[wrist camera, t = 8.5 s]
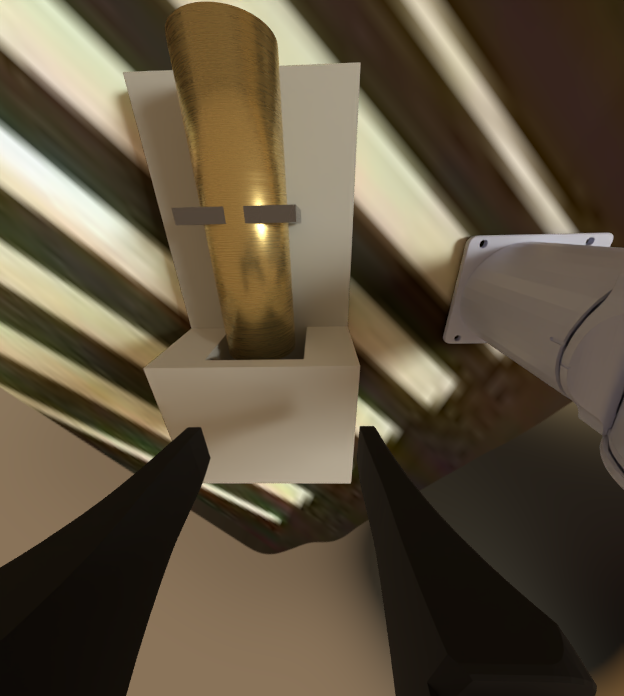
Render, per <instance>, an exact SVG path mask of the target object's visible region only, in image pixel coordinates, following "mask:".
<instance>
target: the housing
mask: <svg viewBox="0 0 624 696" xmlns="http://www.w3.org/2000/svg"><path fill="white" fill-rule="evenodd" d="M279 74H280V91H281V108H282V125H283V142H284V158H285V175H286V192H287V205H293V204H296V205H297V207H298V208H299V209H300V210H301V223H288V226H289V243H290V260H291V277H292V294H293V310H294V327H295V344H296V345H295V349H294V350H293V351H292V352H291V353H290V354H289V355H287V356H285V357H283V358H281V359H278V360H236V359H234V358H233V357H231V355H230V353H229V348H228V343H227V338H226V333H225V328H224V323H223V318H222V313H221V308H220V303H219V298H218V293H217V288H216V283H215V278H214V273H213V268H212V263H211V258H210V253H209V248H208V243H207V239H206V234H205V229H204V225H175V221H174V217H173V213H172V209H171V208H183V207H200V204H199V199H198V194H197V189H196V184H195V179H194V174H193V169H192V164H191V159H190V154H189V149H188V144H187V139H186V134H185V129H184V124H183V119H182V114H181V109H180V104H179V99H178V94H177V89H176V84H175V79H174V74H173V70H167V71H143V72H123V75H124V79H125V82H126V86H127V90H128V94H129V97H130V101H131V105H132V109H133V112H134V116H135V120H136V124H137V127H138V131H139V135H140V138H141V142H142V146H143V150H144V153H145V157H146V161H147V165H148V168H149V172H150V176H151V179H152V183H153V187H154V191H155V194H156V198H157V202H158V206H159V209H160V213H161V217H162V221H163V224H164V228H165V232H166V235H167V239H168V243H169V247H170V250H171V254H172V258H173V262H174V265H175V269H176V273H177V277H178V280H179V284H180V288H181V291H182V295H183V299H184V303H185V306H186V310H187V314H188V318H189V321H190V325H191V329H190V330H189V331H188V332H187V333H185V334H184V335H183V336H182V337H181V338H179V339H178V340H177V341H176V342H174V343H173V344H172V345H171V346H170V347H168V348H167V349H166V350H165V351H164V352H162V353H161V354H160V355H159V356H157V357H156V358H155V359H154V360H153V361H151V362H150V363H149V364H148V365H147V366H145V367H144V368H143V369H144V372H145V374H146V377H147V379H148V382H149V384H150V387H151V389H152V392H153V394H154V397H155V399H156V402H157V404H158V407H159V409H160V412H161V414H162V417H163V419H164V422H165V425H166V427H167V430H168V432H169V435H170V437H171V440H172V441H173V440H174V439H175V438H176V437H177V436H178V435H180V434H181V433H182V432H183V431H184V430H185V429H186V428H188V427H201V428H202V432H203V435H204V438H205V441H206V445H207V448H208V451H209V454H210V457H211V459H210V462H209V465H208V469H207V472H206V475H205V478H204V481H203V483H351V475H352V463H353V450H354V438H355V425H356V412H357V400H358V387H359V375H360V364H359V360H358V357H357V354H356V351H355V348H354V345H353V341H352V338H351V335H350V332H349V329H348V310H349V290H350V269H351V248H352V227H353V207H354V186H355V165H356V144H357V124H358V103H359V82H360V63H338V64H313V65H289V66H279Z"/></svg>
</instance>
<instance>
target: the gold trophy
mask: <svg viewBox="0 0 624 696" xmlns="http://www.w3.org/2000/svg"><path fill="white" fill-rule="evenodd" d="M165 34H166V39H167V44H168V49H169V54H170V59H171V64H172V69H173V74H174V79H175V84H176V89H177V94H178V99H179V104H180V109H181V114H182V119H183V124H184V129H185V134H186V139H187V144H188V149H189V154H190V159H191V164H192V169H193V174H194V179H195V184H196V189H197V194H198V199H199V204H200V207H183V208H171V209H172V213H173V217H174V221H175V225H204V229H205V234H206V239H207V243H208V248H209V253H210V258H211V263H212V268H213V273H214V278H215V283H216V288H217V293H218V298H219V303H220V308H221V313H222V318H223V323H224V328H225V333H226V338H227V343H228V348H229V353H230V355H231V357H233V358H234V359H236V360H278V359H281V358H283V357H285V356H287V355H289V354H290V353H291V352H292V351H293V350H294V349H295V345H296V344H295V327H294V310H293V294H292V277H291V260H290V243H289V226H288V223H301V210H300V209H299V208H298V207H297V205H296V204H293V205H287V192H286V175H285V158H284V142H283V125H282V108H281V91H280V74H279V57H278V44H277V40H276V38H275V36H274V34H273V32H272V31H271V30H270V28H269V27H268V26H267V25H266V24H265V23H264V22H263V21H261V20H260V19H259V18H257V17H256V16H254V15H253V14H251V13H249V12H247V11H245V10H243V9H240V8H238V7H235V6H232V5H228V4H224V3H218V2H195V3H190V4H186V5H184V6H181V7H179V8H178V9H176V10H174V11H173V12H172V13H171V14H170V15H169V17H168V18H167V21H166V23H165Z"/></svg>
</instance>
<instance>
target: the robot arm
mask: <svg viewBox="0 0 624 696" xmlns="http://www.w3.org/2000/svg"><path fill="white" fill-rule="evenodd" d="M587 239H589V240H588V242H587V243H586V241H587ZM482 240H484V244H483V246H482V247H480V242H481V241H482ZM612 241H613V235H612V233H570V234H527V235H485V236H472V237H470V238H469V239H468V240H467V242H466V245H465V249H464V253H463V257H462V261H461V265H460V269H459V274H458V278H457V282H456V286H455V290H454V294H453V298H452V302H451V306H450V310H449V314H448V318H447V323H446V327H445V331H444V335H443V340H444V341H445V342H446V343H449V344H457V343H488V344H490V345H491V346H493V347H494V348H496V349H497V350H499V351H500V352H502V353H503V354H505V355H506V356H508V357H509V358H510V359H512V360H513V361H515V362H516V363H518V364H519V365H521V366H522V367H524V368H525V369H527V370H528V371H529V372H531V373H532V374H534V375H535V376H537V377H538V378H540V379H541V380H543V381H544V382H546V383H547V384H549V385H550V386H551V387H553V388H554V389H556V390H557V391H559V392H560V393H562V394H563V395H565V396H566V397H568V398H569V399H571V400H572V401H573V402H574V403H575V404H576V405H577V406H578V409H579V413H578V418H580V419H581V420H583V421H584V422H585V423H587V424H588V425H589V426H591V427H592V428H593V429H595V430H596V431H597V432H599V433H600V434H602V435H603V437H602V440H601V444H600V453H601V458H602V460H603V462H604V465H605V467H606V468H607V470H608V471H609V473H610V474H611V475H612V477H613V478H614V480H615V481H616V482H617V483H618V484H619V485H620V486H621V487H622V488H623V489H624V248H617V247H610V245H611V243H612ZM457 335H458V338H456V339H454V338H455V336H457ZM210 459H211V457H210V454H209V451H208V448H207V445H206V441H205V438H204V435H203V432H202V428H201V427H188V428H186V429H185V430H184V431H183V432H182V433H181V434H180V435H178V436H177V437H176V438H175V439H174V440H173V441H172V442H171V443H169V444H168V445H167V446H166V447H165V448H164V449H163V450H162V451H161V452H159V453H158V454H157V455H156V456H155V457H154V458H153V459H151V460H150V461H149V462H148V463H147V464H146V465H145V466H144V467H142V468H141V469H140V470H139V471H138V472H136V473H135V474H134V475H133V476H131V477H130V478H129V479H128V480H127V481H125V482H124V483H123V484H122V485H121V486H120V487H118V488H117V489H116V490H114V491H113V492H112V493H111V494H109V495H108V496H107V497H105V498H104V499H103V500H102V501H100V502H99V503H97V504H96V505H95V506H93V507H92V508H90V509H89V510H88V511H86V512H85V513H84V514H82V515H81V516H79V517H78V518H77V519H75V520H74V521H72V522H71V523H69V524H68V525H66V526H65V527H63V528H62V529H60V530H59V531H57V532H56V533H54V534H53V535H51V536H50V537H48V538H47V539H45V540H44V541H42V542H41V543H39V544H38V545H36V546H35V547H33V548H31V549H30V550H28V551H27V552H25V553H23V554H22V555H20V556H19V557H17V558H15V559H14V560H12V561H10V562H9V563H7V564H5V565H4V566H2V567H0V696H126V694H127V690H128V687H129V683H130V680H131V676H132V673H133V669H134V666H135V662H136V659H137V655H138V652H139V649H140V646H141V642H142V639H143V636H144V633H145V630H146V626H147V623H148V620H149V617H150V614H151V610H152V608H153V605H154V602H155V599H156V596H157V593H158V590H159V587H160V584H161V581H162V578H163V575H164V573H165V570H166V567H167V564H168V562H169V559H170V556H171V553H172V551H173V548H174V546H175V543H176V541H177V538H178V536H179V534H180V532H181V529H182V527H183V525H184V523H185V521H186V519H187V516H188V514H189V512H190V510H191V508H192V506H193V503H194V501H195V499H196V497H197V494H198V492H199V490H200V488H201V485H202V483H203V481H204V478H205V475H206V472H207V469H208V465H209V462H210ZM357 462H358V470H359V477H360V483H361V488H362V492H363V497H364V501H365V505H366V510H367V514H368V518H369V522H370V527H371V531H372V535H373V540H374V545H375V550H376V555H377V562H378V569H379V576H380V582H381V589H382V596H383V603H384V610H385V617H386V624H387V632H388V639H389V646H390V654H391V662H392V670H393V678H394V686H395V694H396V696H595V694H596V689H597V686H596V684H595V682H594V680H593V679H592V678H591V676H590V674H589V672H588V671H587V669H586V668H585V666H584V664H583V663H582V661H581V659H580V658H579V656H578V654H577V653H576V651H575V650H574V648H573V647H572V645H571V644H570V642H569V641H568V639H567V638H566V637H565V635H564V634H563V632H562V631H561V629H560V628H559V626H558V625H557V624H556V623H555V622H554V621H553V620H552V619H550V618H549V617H548V616H547V615H546V614H544V613H543V612H542V611H541V610H540V609H538V608H537V607H536V606H535V605H534V604H533V603H532V602H530V601H529V600H528V599H527V598H526V597H525V596H523V595H522V594H521V593H520V592H519V591H518V590H517V589H515V588H514V587H513V586H512V585H511V584H510V583H509V582H508V581H506V580H505V579H504V578H503V577H502V576H501V575H500V574H499V573H498V572H496V571H495V570H494V569H493V568H492V567H491V566H490V565H489V564H488V563H487V562H486V561H485V560H484V559H483V558H482V557H481V556H480V555H479V554H478V553H477V552H476V551H475V550H474V549H472V547H470V546H469V545H468V544H467V543H466V542H465V541H464V540H463V539H462V538H461V537H460V536H459V535H458V534H457V533H456V532H455V531H454V530H453V528H451V526H450V525H449V524H448V523H447V522H446V521H445V520H444V519H443V518H442V517H441V516H440V515H439V513H438V512H437V511H436V510H435V509H434V508H433V507H432V506H431V504H430V503H429V502H428V501H427V500H426V499H425V497H424V496H423V495H422V494H421V492H420V491H419V490H418V489H417V487H416V486H415V485H414V484H413V482H412V481H411V480H410V479H409V477H408V476H407V475H406V473H405V472H404V471H403V469H402V468H401V466H400V465H399V464H398V462H397V461H396V459H395V458H394V457H393V455H392V454H391V452H390V451H389V449H388V448H387V446H386V444H385V443H384V441H383V440H382V438H381V436H380V435H379V433H378V431H377V430H376V428H375V427H374V426H360V431H359V442H358V453H357Z"/></svg>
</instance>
